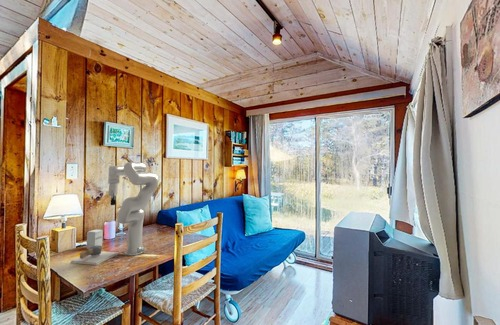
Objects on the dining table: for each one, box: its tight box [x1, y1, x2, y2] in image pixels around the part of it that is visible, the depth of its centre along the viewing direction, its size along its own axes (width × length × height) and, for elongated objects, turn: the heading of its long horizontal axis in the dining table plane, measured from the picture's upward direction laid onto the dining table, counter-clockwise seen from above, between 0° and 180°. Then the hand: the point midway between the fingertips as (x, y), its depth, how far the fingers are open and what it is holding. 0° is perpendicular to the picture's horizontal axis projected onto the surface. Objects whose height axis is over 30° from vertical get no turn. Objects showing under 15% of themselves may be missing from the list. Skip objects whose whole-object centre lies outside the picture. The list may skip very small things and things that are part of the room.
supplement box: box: [86, 229, 104, 250], centre depth 178 cm, size 7×7×13 cm
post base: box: [70, 250, 118, 266], centre depth 155 cm, size 19×19×3 cm
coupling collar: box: [79, 246, 102, 259], centre depth 152 cm, size 15×6×4 cm, turn 175°
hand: (113, 204), depth 185 cm, fingers closed
